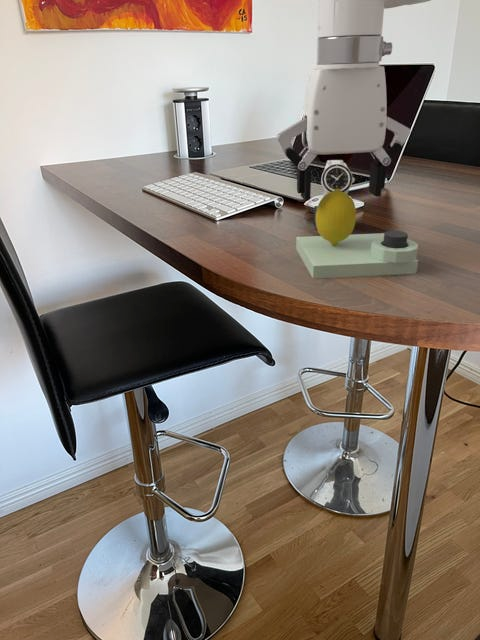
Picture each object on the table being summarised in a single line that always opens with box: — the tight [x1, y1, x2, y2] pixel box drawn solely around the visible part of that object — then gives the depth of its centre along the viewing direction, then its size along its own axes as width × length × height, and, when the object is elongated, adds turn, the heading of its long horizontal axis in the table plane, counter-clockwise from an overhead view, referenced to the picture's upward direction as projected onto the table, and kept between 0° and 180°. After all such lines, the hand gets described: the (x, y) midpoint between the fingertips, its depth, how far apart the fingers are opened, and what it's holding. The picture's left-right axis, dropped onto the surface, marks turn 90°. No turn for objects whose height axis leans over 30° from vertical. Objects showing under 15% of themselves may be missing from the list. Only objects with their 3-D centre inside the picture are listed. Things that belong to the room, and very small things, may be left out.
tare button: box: [383, 230, 409, 248], centre depth 66 cm, size 3×3×2 cm
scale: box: [295, 232, 419, 280], centre depth 70 cm, size 14×12×4 cm
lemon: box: [316, 189, 357, 245], centre depth 70 cm, size 6×6×8 cm
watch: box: [313, 159, 356, 232], centre depth 83 cm, size 6×8×11 cm
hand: (340, 196), depth 68 cm, fingers open, 9 cm apart
